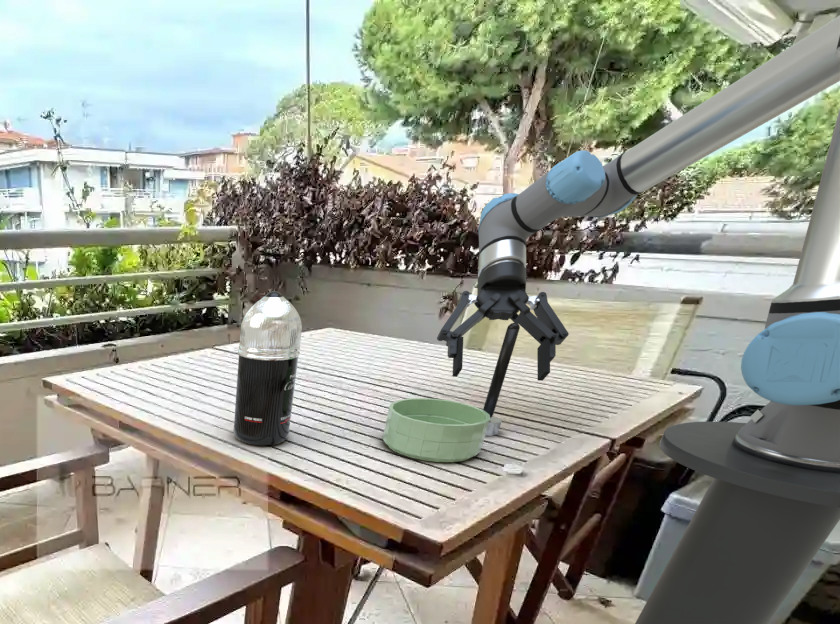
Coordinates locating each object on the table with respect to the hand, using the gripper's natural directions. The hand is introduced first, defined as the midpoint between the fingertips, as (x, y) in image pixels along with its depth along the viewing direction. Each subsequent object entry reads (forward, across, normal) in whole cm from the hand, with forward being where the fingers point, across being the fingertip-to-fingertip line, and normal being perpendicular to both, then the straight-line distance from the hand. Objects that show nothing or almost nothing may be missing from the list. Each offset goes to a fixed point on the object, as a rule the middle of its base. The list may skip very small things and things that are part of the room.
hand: (499, 374), depth 96 cm
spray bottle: (+17, +40, +1) cm, 43 cm away
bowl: (+15, +11, 0) cm, 19 cm away
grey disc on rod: (+7, 0, -8) cm, 11 cm away
